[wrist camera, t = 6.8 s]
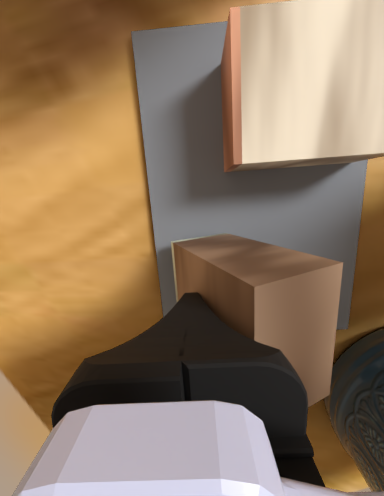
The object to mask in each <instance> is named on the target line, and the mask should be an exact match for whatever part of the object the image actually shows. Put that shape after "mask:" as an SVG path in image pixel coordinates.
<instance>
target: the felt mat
mask: <svg viewBox="0 0 384 496" xmlns="http://www.w3.org/2000/svg"><path fill="white" fill-rule="evenodd" d="M227 23H228V21H225V22H216V23H207V24H197V25H188V26H179V27H169V28H160V29H151V30H141V31H132V32H131V34H132V43H133V52H134V61H135V70H136V79H137V87H138V96H139V105H140V114H141V123H142V132H143V141H144V149H145V158H146V167H147V176H148V185H149V194H150V203H151V211H152V220H153V229H154V238H155V247H156V256H157V265H158V274H159V282H160V291H161V300H162V309H163V317H164V316H165V315H166V314H167V313H168V312H169V311H170V310H171V309H172V308H173V307H174V306H175V304H176V303H177V300H176V290H175V279H174V269H173V258H172V247H171V241H177V240H184V239H190V238H197V237H203V236H210V235H216V234H223V233H228V234H232V235H236V236H240V237H244V238H248V239H252V240H256V241H260V242H264V243H268V244H272V245H276V246H280V247H284V248H287V249H291V250H295V251H299V252H303V253H307V254H311V255H315V256H319V257H323V258H327V259H331V260H335V261H339V262H343V269H342V279H341V288H340V298H339V308H338V317H337V327H336V329H348V324H349V315H350V307H351V298H352V289H353V281H354V272H355V264H356V255H357V247H358V238H359V229H360V221H361V212H362V204H363V195H364V187H365V178H366V169H367V161H368V159H367V160H362V161H357V162H352V163H340V164H327V165H314V166H301V167H287V168H274V169H261V170H248V171H235V172H224V153H223V122H222V91H221V59H222V53H223V47H224V41H225V35H226V29H227Z"/></svg>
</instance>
